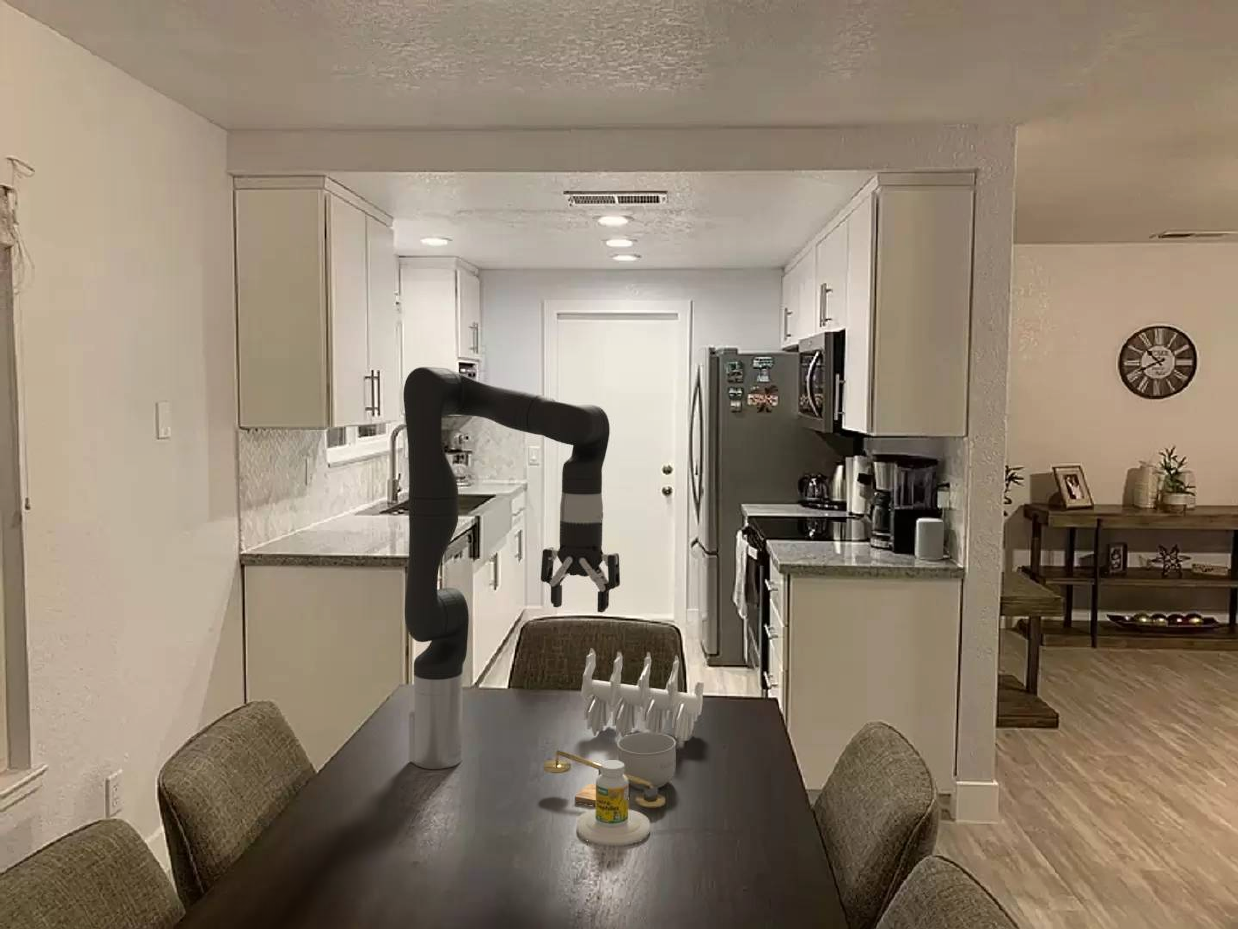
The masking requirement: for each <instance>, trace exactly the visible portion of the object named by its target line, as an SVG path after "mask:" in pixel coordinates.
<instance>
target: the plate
mask: <svg viewBox="0 0 1238 929" xmlns="http://www.w3.org/2000/svg"><path fill="white" fill-rule="evenodd" d="M650 831H651V822H650V819H649V818H648V817H647V816H646V815H645V814H643V813H642V812H639V811H637V810H633V809H630V808H628V821H627V823H626V824H624V825H622V826H619V827H605V826H602V825H600V824H598V823H597V821H596V808H593V809H590V810H588V811H586V812H584V813H582V814H580V815H579V817H577V820H576V833H577V835H580V836H581V837H582V840H584V839H585V841H586V840H588V841H590V842H589V843H591V842H593V843H592V844H594V843H595V845H597V846H603V845H604V846H605V847H624V845H626V846H630V845H629V844H631V845H634V844H633V843H635V844H637V842H638V843H640V842H641V841H640V840H642V841H643V839H644V838H645V839H646V838H647V837H648V836H649V835H650V833H649V832H650ZM648 834H649V835H648ZM647 835H648V836H647ZM580 836H579V837H580ZM581 837H580V838H581ZM645 839H644V840H645ZM588 841H587V842H588ZM639 841H640V842H639ZM599 844H600V845H599ZM604 846H603V847H604Z"/></svg>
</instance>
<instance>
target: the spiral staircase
mask: <svg viewBox="0 0 1238 929" xmlns="http://www.w3.org/2000/svg"><path fill="white" fill-rule="evenodd" d="M596 656H597V654H596V651H595V650H594V648H592V647H590V649H589V654H588V655H586V658H585V659H586V660H585V669H584V673H583V675H582V685H581V691H580V693H581V694H580V696H581V699H582V701H583V702H584V708H583V709H584V711H583V718H582V719H583V720H584V721H586V729H587V730H590V729H591V731H592V735H593V736H594V737H596V736H597V733H598V732H602V730H603V731H604V727H607V725H608V723H609V720H610V718H611V716H612V725H611V726H612V727H615V733H616V734H615V735H617V736H618V735H620V737H621V738H623V737H625V736H627V735H630V734H631V733H632V729H635V728H636V725H637V723H638V720H639V716H640V713H642V717H641V722H645V728H644V730H650V732H651V733H661V734H663V730H664V728H665V726H666V721H668V720H669V716H670V712H671V714H672V720H671V729H674V731H675V732H674V739H678V743H679V746H682V745H683V742H686V741H688V737H690V736H692V732H693V729H694V726H695V722H697V720H698V716H701V713H702V708H703V701H704V699H703V698H704V697H703V694H704V686H705V683H704V682H699V681H698V682H696V684H695V686H694V690H693V691H692V693H689V692H688V693H687V692H683V691H682V692H681V691H678V676H679V675H678V674H679V666H680V659H679V657H678V655H676V654H675V655H674V661H673V663H672V671H671V672H670V673H671V674H670V677H669V678H668V681H667V682H666V686H665V689H661V688H653V687H650V675H651V666H652V657H651V656H652V655H651V653H650V651H647V653H646V657H645V658H644V662H643V663H644V664H643V670H642V672H641V675H640V677H638V679H637V684H636V685H632V684H625V683H621V681H622V674H621V673H622V669H623V658H624V656H623V654H622V653H621V652H620V651H617V654H616V657H615V660H614V661H613V670H612V674H611V675H610V679H609V681H605V680H598V679H592V678H593V675H594V674H593V673H594V672H595V668H596V666H597V663H596Z"/></svg>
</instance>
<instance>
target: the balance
mask: <svg viewBox="0 0 1238 929" xmlns="http://www.w3.org/2000/svg"><path fill="white" fill-rule="evenodd" d="M559 756H560V757H563V758H566V759H568V760H571V761H574V762H575V763H580V764H582V765H585V766H588V767H590V768H593V769H596V770H598V776H599V775H600V774H601V772H600V764H601V763H597V762H594V761H592V760H589V759H587V758H584V757H582V756H578V755H574V754H572V753H570V752H567V751H564V750H561V749H557V750H556V752H555V759H551V760H548V761H544V762H543V763H542V769H543V771H545V772H547V773H550V774H564V773H567V772H569V771H571V770H572V764H571V762H569V761H566V760H563V759H560V758H559ZM624 775H625V776H626V777H627V778H628V780H629V781H632V782H635V783H637V784H640V785H643V786H644V789H643V793H641V794H638V795H637V796H636V798H635V803H636V804H637V805H639V806H640V807H643V808H647V809H649V808H650V809H654V808H655V809H656V808H660V807H663V806H665V804H666V798H665V796H664V795H661V794H659V793H658V792H659V791H658V790H659V788H658V787H657V786H655V785H652V783H651V782H648V781H645V780H642V779H640V778H637V777H634V776H631V775H628V774H626V773H624ZM629 797H630V798H631V791H630V790H628V798H629ZM630 798H629V799H630ZM574 803H575V804H577V803H581V804H580V805H582V804H587V805H586V806H588V805H593V806H596V784H590V783H588V784H587V785H586V786H585V787H583V788H582V789H581V790H580V791H579V792H578V793H577V794H575V795H574ZM593 806H592V807H593Z"/></svg>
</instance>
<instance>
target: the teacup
mask: <svg viewBox="0 0 1238 929" xmlns="http://www.w3.org/2000/svg"><path fill="white" fill-rule="evenodd" d="M675 739H676V738H675V737H673V736H671V735H669V734H664V733H651V732H650V730H645V729H643V730H642V731H641V732H635V733H632V734H631V733H630V734H629V735H626V736H625V737H623V738H622V737H621V738H619V740H618V741H617V743H616V747H617V761H621V762H623V763H624V765H625V772H624V773H626V774H628V775H631V776H634V777H637V778H640V779H642V780H645V781H648V782H651V783H652V785H655V786H657V787H658V789H660V788H662V787H664V786H665V785H667V783H668V782H669V781H671V779H673V777H674V775H675V773H676V767H677V766H676V762H677V759H676V758H677V757H676V756H677V755H676V754H677V752H676V750H677V749H676V748H677V741H676V740H675ZM628 785H629V786H631V787H633V788H634V789H637V790H638V789H639V790H644V786H643V785H640V784H637V783H635V782H632V781H629V780H628Z"/></svg>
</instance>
